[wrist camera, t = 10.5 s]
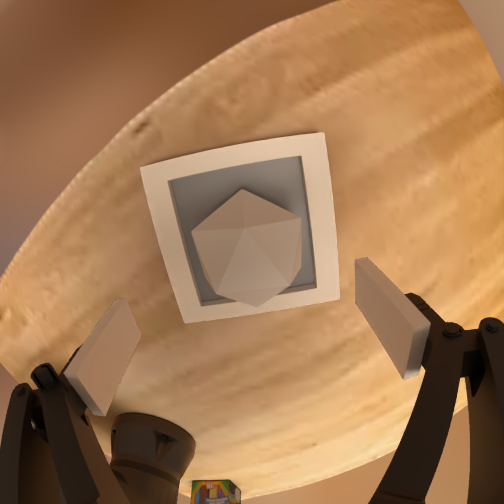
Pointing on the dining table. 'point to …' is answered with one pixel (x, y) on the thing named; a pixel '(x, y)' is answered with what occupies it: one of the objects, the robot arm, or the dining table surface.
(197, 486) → the chalk box
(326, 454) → the dining table surface
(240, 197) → the die
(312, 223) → the pocket plate
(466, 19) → the dining table surface
